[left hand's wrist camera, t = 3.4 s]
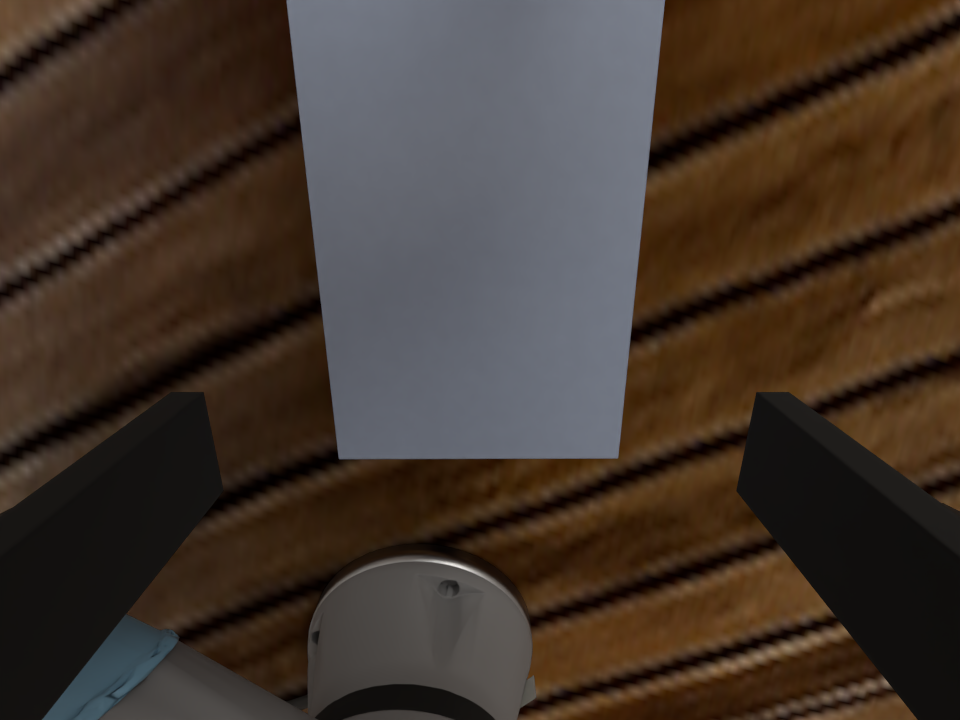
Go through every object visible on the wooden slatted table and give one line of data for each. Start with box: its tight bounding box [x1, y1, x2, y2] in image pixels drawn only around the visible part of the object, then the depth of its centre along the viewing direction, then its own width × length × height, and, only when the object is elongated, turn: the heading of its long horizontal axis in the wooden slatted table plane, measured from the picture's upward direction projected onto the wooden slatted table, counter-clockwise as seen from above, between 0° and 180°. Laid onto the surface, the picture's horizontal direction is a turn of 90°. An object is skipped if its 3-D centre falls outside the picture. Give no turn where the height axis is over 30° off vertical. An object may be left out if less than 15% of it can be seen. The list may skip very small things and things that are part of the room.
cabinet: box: [286, 0, 665, 459], centre depth 22 cm, size 17×10×11 cm, turn 0°
